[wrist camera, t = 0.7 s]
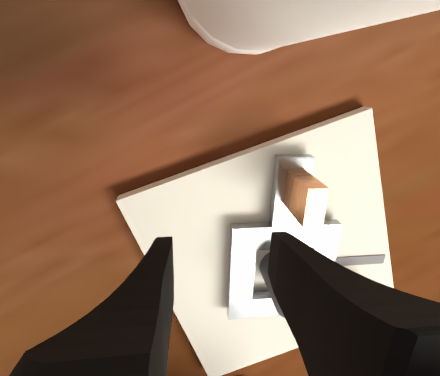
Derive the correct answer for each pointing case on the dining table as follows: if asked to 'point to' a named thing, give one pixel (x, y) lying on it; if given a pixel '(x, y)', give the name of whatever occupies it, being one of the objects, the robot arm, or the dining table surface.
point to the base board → (253, 213)
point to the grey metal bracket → (279, 221)
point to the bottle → (289, 20)
